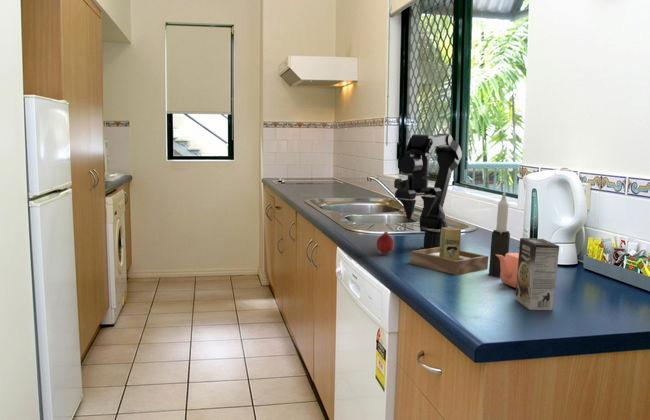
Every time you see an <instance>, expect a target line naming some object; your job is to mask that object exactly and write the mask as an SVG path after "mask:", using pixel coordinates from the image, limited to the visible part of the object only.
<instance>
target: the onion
mask: <svg viewBox="0 0 650 420" xmlns="http://www.w3.org/2000/svg"><path fill="white" fill-rule="evenodd" d="M394 245H395V242H394V239H393V238H392V236H391V235H390V234H389V232H388V231H384V232H383V234H382V235H380V236H379V237H378V238H377V240H376V247H377V250H378V251H379V252H380V253H381V254H382V255H387V254H389V253H390V252H391V251H392V250H393V249H394Z"/></svg>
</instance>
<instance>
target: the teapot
mask: <svg viewBox="0 0 650 420" xmlns="http://www.w3.org/2000/svg"><path fill="white" fill-rule="evenodd" d="M496 256H497V257H499V259H500V268H501V273H500V277H499V278H500V281H501V282H502V283H503V284H505V285H507V286H510V287H511V288H514V289H516V284H517V272H518V259H519V252H509V253H506V255H505V257H504V256H502V255H496Z"/></svg>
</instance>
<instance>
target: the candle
mask: <svg viewBox="0 0 650 420" xmlns="http://www.w3.org/2000/svg"><path fill="white" fill-rule="evenodd" d="M509 206H510V205H509V202H508V200H507V198H506V192H503V193H502V196H501V199H500V201H499V202H498V204H497V216H496V218H497V219H496V229H494V230H493V231H492V232H491V240H490V242H491V243H490V254H489V264H488V265H489V266H488V276H489V277H494V278H495V277H496V278H501V277H500V273H501V268H500V259H499V257H497V256H496V255H502V256H504V257H505V255H506V253H510V252H509V251H510V241H511V240H510V239H511V233H510V231H509V230H508V229H507V228H508V218H509V217H508V216H509Z"/></svg>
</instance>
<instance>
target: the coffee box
mask: <svg viewBox="0 0 650 420" xmlns="http://www.w3.org/2000/svg"><path fill="white" fill-rule="evenodd" d="M518 249H519V250H518V253H519V259H518V272H517V284H516V288H515V298H514V299H515V301H516V302H518V303H520V304H521V306H524V307H525V308H526V309H528V311H529V310H530V311H554V303H555V302H554V301H555V294H556V293H555V291H556V283H557V273H558V263H559V252H560V245H558V244H555V243H554V242H551V241H549V240H546V239H544V238H532V237H521V238H519V248H518Z"/></svg>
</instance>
